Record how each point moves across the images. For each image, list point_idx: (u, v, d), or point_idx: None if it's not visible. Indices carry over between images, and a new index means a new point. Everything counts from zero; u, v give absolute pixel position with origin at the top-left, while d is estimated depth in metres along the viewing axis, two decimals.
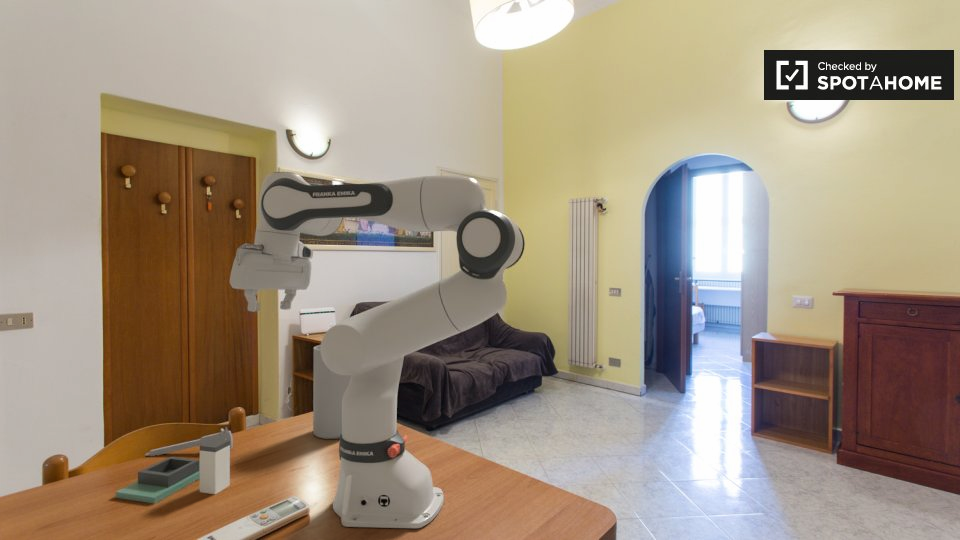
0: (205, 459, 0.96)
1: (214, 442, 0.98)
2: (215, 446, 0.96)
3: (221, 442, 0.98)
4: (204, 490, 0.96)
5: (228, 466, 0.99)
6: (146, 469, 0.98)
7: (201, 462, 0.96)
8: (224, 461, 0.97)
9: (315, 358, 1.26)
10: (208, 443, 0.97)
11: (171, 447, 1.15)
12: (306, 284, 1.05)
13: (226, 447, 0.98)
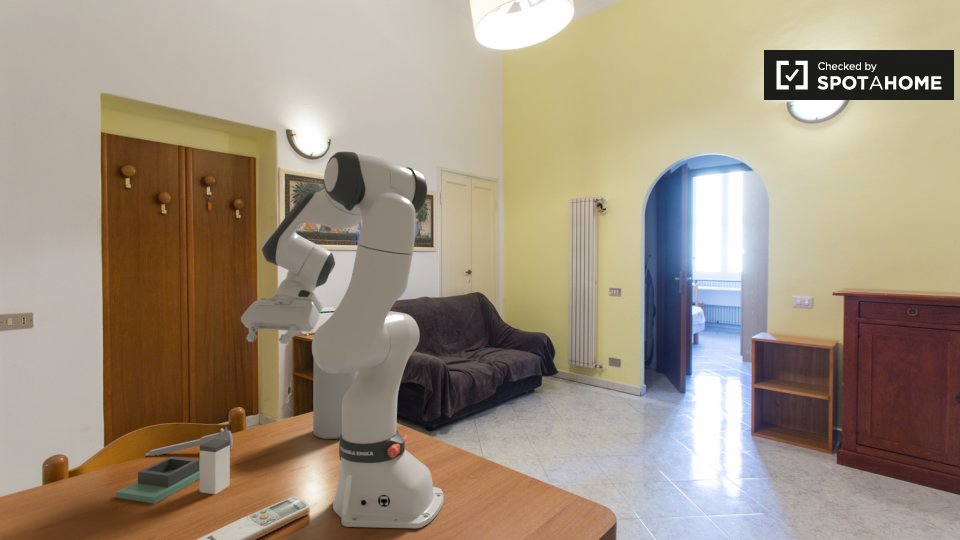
0: (205, 459, 0.96)
1: (214, 442, 0.98)
2: (215, 446, 0.96)
3: (221, 442, 0.98)
4: (204, 490, 0.96)
5: (228, 466, 0.99)
6: (146, 469, 0.98)
7: (201, 462, 0.96)
8: (224, 461, 0.97)
9: None
10: (208, 443, 0.97)
11: (171, 447, 1.15)
12: (303, 319, 1.14)
13: (226, 447, 0.98)
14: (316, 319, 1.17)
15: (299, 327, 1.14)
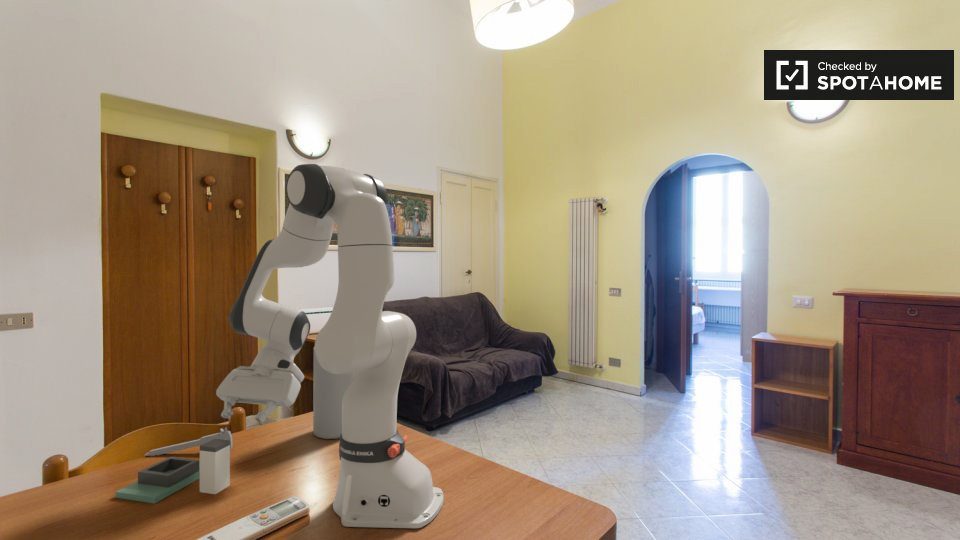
0: (205, 459, 0.96)
1: (214, 442, 0.98)
2: (215, 446, 0.96)
3: (221, 442, 0.98)
4: (204, 490, 0.96)
5: (228, 466, 0.99)
6: (146, 469, 0.98)
7: (201, 462, 0.96)
8: (224, 461, 0.97)
9: (315, 358, 1.26)
10: (208, 443, 0.97)
11: (171, 447, 1.15)
12: (282, 395, 1.06)
13: (226, 447, 0.98)
14: (296, 392, 1.09)
15: (277, 403, 1.07)
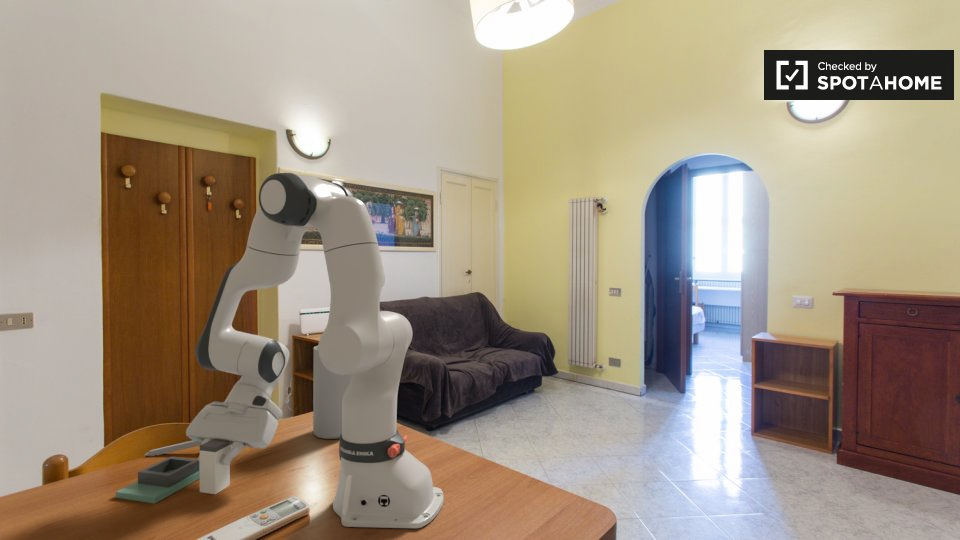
0: (205, 459, 0.96)
1: (214, 442, 0.98)
2: (214, 446, 0.96)
3: (221, 442, 0.98)
4: (204, 490, 0.96)
5: (228, 466, 0.99)
6: (146, 469, 0.98)
7: (201, 462, 0.96)
8: None
9: (315, 358, 1.26)
10: (208, 443, 0.97)
11: (170, 447, 1.15)
12: (257, 436, 0.98)
13: (226, 447, 0.98)
14: (273, 432, 1.01)
15: (252, 444, 0.98)
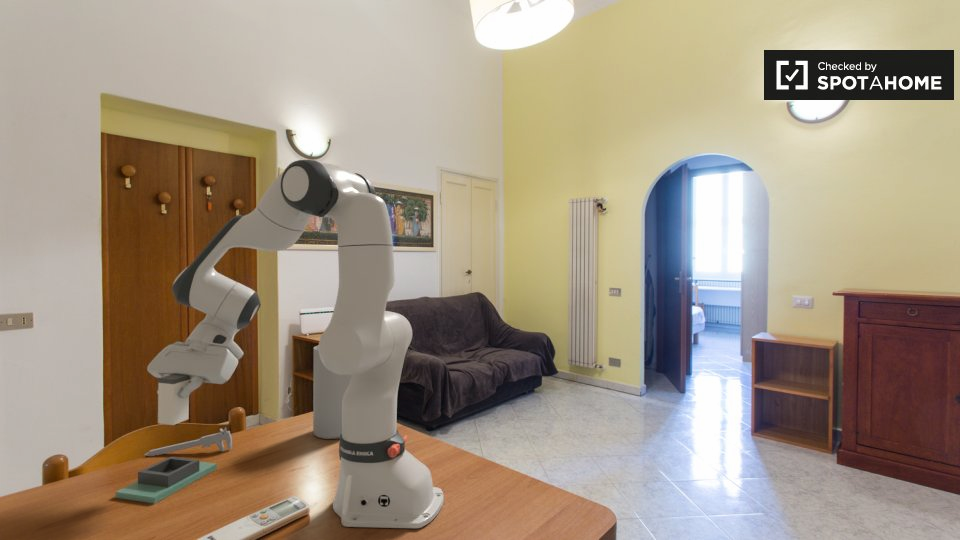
0: (163, 391, 0.98)
1: (173, 376, 1.00)
2: (173, 379, 0.98)
3: (180, 376, 1.00)
4: (162, 421, 0.98)
5: (187, 400, 1.01)
6: (146, 469, 0.98)
7: (160, 394, 0.98)
8: None
9: (315, 358, 1.26)
10: (167, 376, 1.00)
11: (170, 447, 1.15)
12: (215, 371, 1.00)
13: (185, 381, 1.00)
14: (232, 369, 1.03)
15: (210, 379, 1.01)
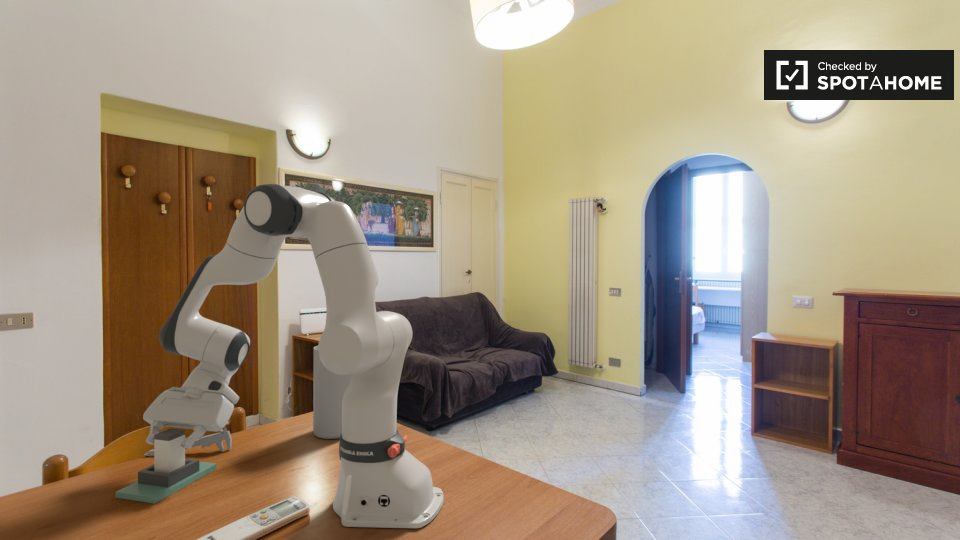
0: (159, 448, 0.98)
1: (169, 431, 1.00)
2: (169, 435, 0.98)
3: (176, 431, 1.00)
4: None
5: (183, 454, 1.01)
6: (146, 469, 0.98)
7: (156, 451, 0.98)
8: (178, 450, 1.00)
9: (315, 358, 1.26)
10: (163, 432, 1.00)
11: None
12: (210, 419, 1.00)
13: (180, 436, 1.01)
14: (228, 415, 1.04)
15: (206, 427, 1.01)
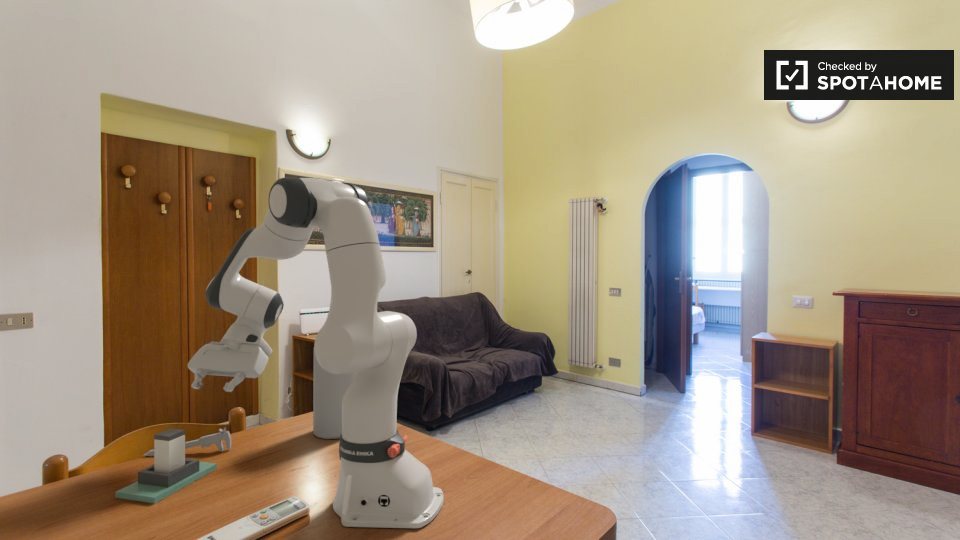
0: (159, 448, 0.98)
1: (169, 431, 1.00)
2: (169, 435, 0.98)
3: (176, 431, 1.00)
4: None
5: (183, 454, 1.01)
6: (146, 469, 0.98)
7: (156, 451, 0.98)
8: (178, 450, 1.00)
9: (315, 358, 1.26)
10: (163, 432, 1.00)
11: None
12: (249, 366, 1.12)
13: (180, 436, 1.01)
14: (264, 365, 1.16)
15: (245, 374, 1.13)
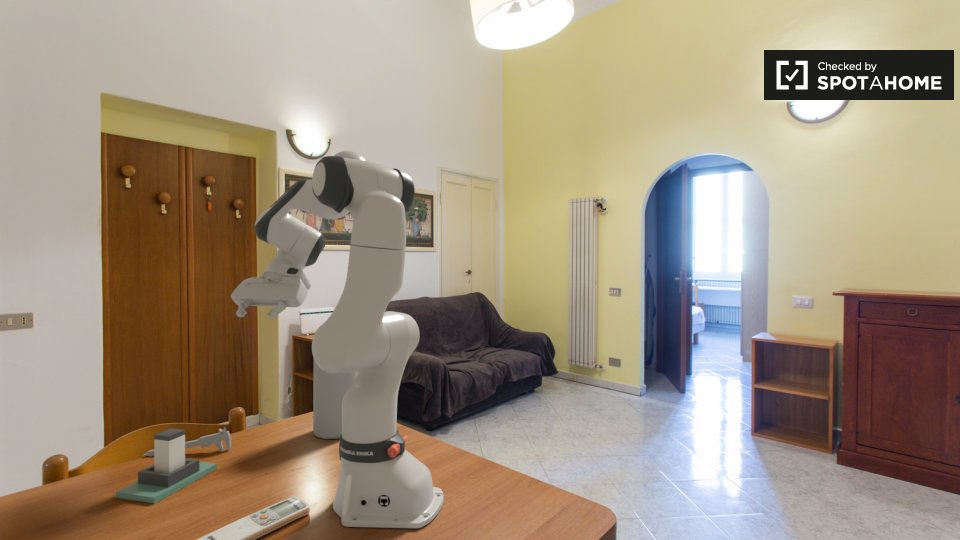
0: (159, 448, 0.98)
1: (169, 431, 1.00)
2: (169, 435, 0.98)
3: (176, 431, 1.00)
4: None
5: (183, 454, 1.01)
6: (146, 469, 0.98)
7: (156, 451, 0.98)
8: (178, 450, 1.00)
9: None
10: (163, 432, 1.00)
11: None
12: (291, 295, 1.17)
13: (180, 436, 1.01)
14: (304, 295, 1.20)
15: (287, 303, 1.18)
